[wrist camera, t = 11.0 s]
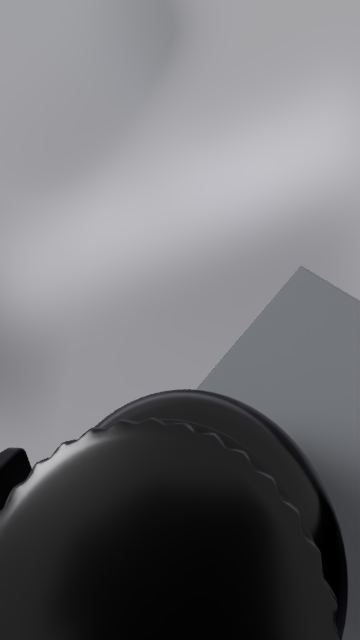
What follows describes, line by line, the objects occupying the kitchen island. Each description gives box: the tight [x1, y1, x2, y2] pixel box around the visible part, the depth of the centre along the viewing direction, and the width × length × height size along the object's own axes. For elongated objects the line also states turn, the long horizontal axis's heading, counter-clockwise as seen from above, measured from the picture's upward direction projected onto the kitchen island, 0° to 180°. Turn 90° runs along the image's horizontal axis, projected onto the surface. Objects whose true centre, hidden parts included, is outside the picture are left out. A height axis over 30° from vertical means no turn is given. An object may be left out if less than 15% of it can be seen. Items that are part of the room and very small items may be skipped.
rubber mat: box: [196, 266, 360, 640], centre depth 15 cm, size 11×18×1 cm, turn 138°
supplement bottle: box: [0, 389, 348, 640], centre depth 9 cm, size 7×7×12 cm
